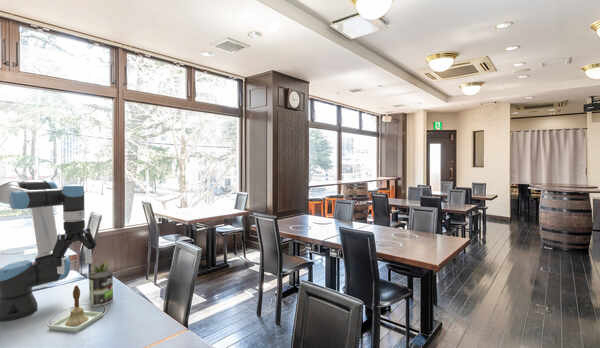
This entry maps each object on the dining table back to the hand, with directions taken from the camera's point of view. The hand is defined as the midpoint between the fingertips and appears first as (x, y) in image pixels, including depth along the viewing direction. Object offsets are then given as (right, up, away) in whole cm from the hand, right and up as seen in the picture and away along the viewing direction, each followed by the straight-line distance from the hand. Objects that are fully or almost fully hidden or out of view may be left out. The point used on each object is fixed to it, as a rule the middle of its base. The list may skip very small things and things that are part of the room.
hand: (75, 268), depth 133 cm
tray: (0, -24, +1) cm, 24 cm away
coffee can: (-3, -24, +21) cm, 32 cm away
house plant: (-12, -23, +35) cm, 44 cm away
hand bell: (0, -24, +1) cm, 24 cm away
